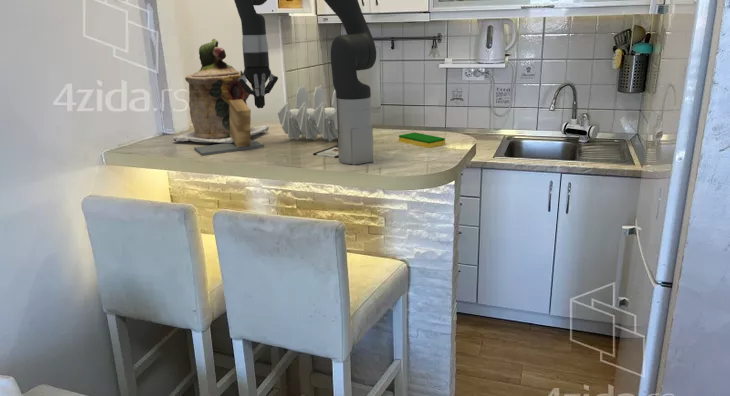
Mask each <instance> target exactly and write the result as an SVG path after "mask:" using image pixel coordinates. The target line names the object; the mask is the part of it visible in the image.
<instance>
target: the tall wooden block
mask: <svg viewBox="0 0 730 396" xmlns="http://www.w3.org/2000/svg"><path fill="white" fill-rule="evenodd" d="M229 112H230V137H231V138H232V140H233V141H234V143H235V144H236V146H237V147H245V146H250V140H251V136H250V127H251V122H252V121H251V119H252V118H251V108H249V106H248V104H247V105H246V104H245V102H244V101H243V100H242V99H240V100H229Z"/></svg>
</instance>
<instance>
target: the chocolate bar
mask: <svg viewBox="0 0 730 396" xmlns="http://www.w3.org/2000/svg"><path fill="white" fill-rule="evenodd" d="M316 155H317V156H318V157H324V158H332V159H339V154H338V144H336V145H334V146H330V147H328V148H325V149H322V150H318V151H316V152H312V156H316Z"/></svg>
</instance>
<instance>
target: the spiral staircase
mask: <svg viewBox="0 0 730 396" xmlns="http://www.w3.org/2000/svg"><path fill="white" fill-rule="evenodd" d="M309 97H310V92H309V91H308V90H307V89H306V86H305V85H303V86H301V85H300V86H299V85H298V88H297V91H296V93H295V100H294V101H295V103H294V107H295V108H290V106H291V105H290V103H289V101H286V103H284V105H283V106H282V107H281V108H280V109H279V110H278V112H277V117H278V119H279V120H278V121H279V123H280V125H281V129H282V131H284V133H285V134H286V135H287V138H290V139H291V138H293V139H295V141H297V140H298V139H299V138H300V136H302V137H304V136H305V139H306V140H308V139H312V141H315V140H316V139H317V137H318V136H321V137H322V139H324V140H328V142H329V143H331V142H332V141H333V139H334V140H338V131H337V106H336V91H335V89H333V92H332V98H331V101H332V102H331V107H327V106H328V101H327V99H326V91H325V90H324V89H323V85H321V84H320V85H319V86H315V88H314V91H313V95H312V104H311V102H310V98H309ZM311 106H312V108H311Z"/></svg>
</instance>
